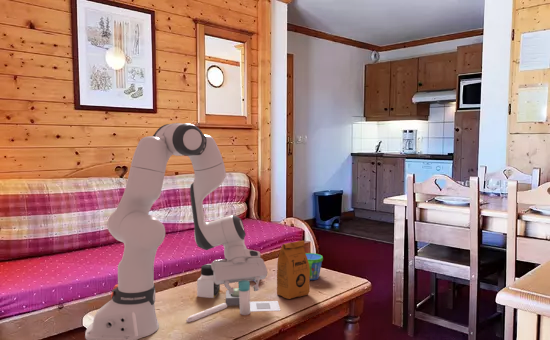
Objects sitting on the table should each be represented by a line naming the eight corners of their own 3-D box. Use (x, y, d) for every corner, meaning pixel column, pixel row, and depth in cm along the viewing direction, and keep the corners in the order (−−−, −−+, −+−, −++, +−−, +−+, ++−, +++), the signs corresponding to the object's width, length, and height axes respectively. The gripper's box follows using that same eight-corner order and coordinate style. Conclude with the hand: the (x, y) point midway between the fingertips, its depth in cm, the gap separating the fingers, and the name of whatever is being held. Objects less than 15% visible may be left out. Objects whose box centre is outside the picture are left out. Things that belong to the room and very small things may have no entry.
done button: (231, 299, 160) (231, 291, 160) (231, 295, 164) (231, 288, 164) (241, 298, 161) (241, 291, 160) (240, 295, 164) (240, 288, 164)
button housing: (225, 305, 158) (225, 298, 158) (226, 297, 166) (226, 290, 166) (247, 305, 159) (247, 297, 159) (246, 297, 167) (246, 289, 166)
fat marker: (239, 315, 150) (238, 284, 148) (239, 310, 153) (238, 280, 152) (250, 315, 150) (249, 284, 148) (250, 309, 154) (249, 279, 152)
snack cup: (318, 285, 182) (319, 262, 181) (295, 282, 185) (295, 259, 184) (325, 274, 197) (325, 252, 196) (303, 271, 200) (303, 250, 199)
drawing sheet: (247, 311, 153) (247, 311, 153) (246, 302, 162) (246, 301, 162) (280, 311, 154) (280, 310, 154) (277, 301, 163) (277, 300, 163)
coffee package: (312, 296, 169) (314, 242, 167) (287, 302, 162) (288, 246, 160) (298, 288, 177) (299, 237, 175) (273, 294, 171) (274, 240, 169)
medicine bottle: (214, 298, 165) (214, 268, 164) (196, 297, 166) (196, 267, 165) (220, 292, 172) (220, 263, 171) (203, 290, 173) (203, 262, 172)
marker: (187, 324, 142) (187, 318, 142) (184, 322, 144) (184, 316, 144) (227, 309, 156) (227, 302, 156) (223, 307, 157) (223, 301, 157)
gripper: (211, 256, 155) (217, 291, 146) (263, 251, 162) (272, 284, 154) (208, 264, 159) (214, 299, 151) (259, 259, 167) (268, 292, 158)
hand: (244, 291), depth 152 cm, fingers open, 8 cm apart
